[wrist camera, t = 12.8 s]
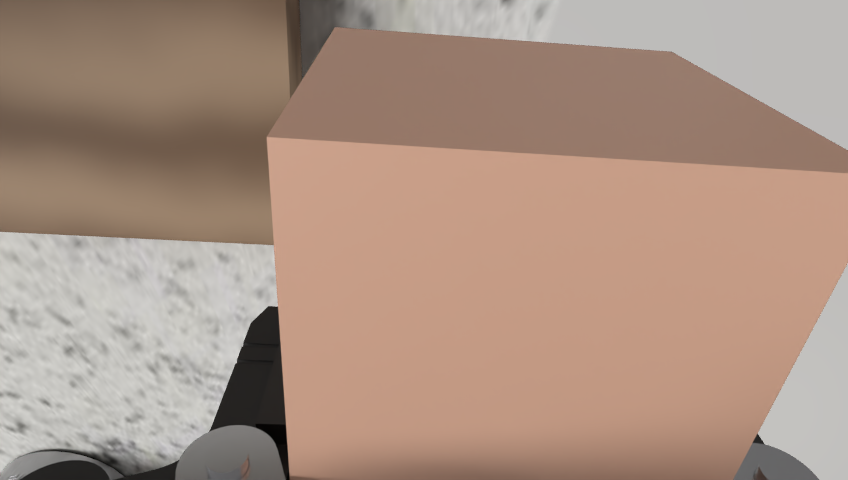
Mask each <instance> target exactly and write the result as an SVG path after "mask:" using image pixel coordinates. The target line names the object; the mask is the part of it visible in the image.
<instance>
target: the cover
mask: <svg viewBox="0 0 848 480" xmlns="http://www.w3.org/2000/svg"><path fill="white" fill-rule="evenodd" d="M267 150H268V165H269V180H270V194H271V209H272V224H273V239H274V253H275V268H276V283H277V298H278V312H279V327H280V342H281V357H282V372H283V386H284V401H285V416H286V431H287V445H288V460H289V475H290V480H733V479H734V477H735V475H736V473H737V471H738V469H739V467H740V466H741V464H742V462H743V460H744V458H745V456H746V454H747V452H748V450H749V449H750V447H751V445H752V443H753V441H754V439H755V437H756V435H757V433H758V431H759V430H760V427H761V426H762V424H763V422H764V420H765V418H766V416H767V415H768V413H769V411H770V409H771V407H772V405H773V403H774V401H775V399H776V397H777V396H778V394H779V392H780V390H781V388H782V386H783V384H784V382H785V380H786V379H787V377H788V375H789V373H790V371H791V369H792V367H793V365H794V363H795V362H796V360H797V358H798V356H799V354H800V352H801V350H802V348H803V347H804V345H805V343H806V341H807V339H808V337H809V335H810V333H811V331H812V330H813V327H814V325H815V324H816V322H817V320H818V318H819V316H820V314H821V312H822V311H823V309H824V307H825V305H826V303H827V301H828V299H829V297H830V296H831V294H832V292H833V290H834V288H835V286H836V284H837V282H838V280H839V279H840V277H841V274H842V273H843V271H844V269H845V267H846V265H847V263H848V150H846V149H844V148H842V147H841V146H839V145H837V144H835V143H833V142H832V141H830V140H828V139H826V138H825V137H823V136H821V135H819V134H817V133H816V132H814V131H812V130H810V129H808V128H807V127H805V126H803V125H801V124H799V123H798V122H796V121H794V120H792V119H791V118H789V117H787V116H785V115H784V114H782V113H780V112H778V111H776V110H775V109H773V108H771V107H769V106H767V105H765V104H764V103H762V102H760V101H759V100H757V99H755V98H753V97H751V96H750V95H748V94H746V93H744V92H742V91H741V90H739V89H737V88H735V87H734V86H732V85H730V84H728V83H726V82H725V81H723V80H721V79H719V78H717V77H716V76H714V75H712V74H710V73H708V72H707V71H705V70H703V69H701V68H700V67H698V66H696V65H694V64H692V63H691V62H689V61H687V60H685V59H684V58H682V57H680V56H678V55H676V54H675V53H673V52H667V51H652V50H639V49H626V48H612V47H599V46H585V45H572V44H571V45H570V44H558V43H544V42H531V41H517V40H503V39H490V38H476V37H462V36H449V35H435V34H422V33H408V32H394V31H381V30H367V29H353V28H340V27H335V28H334V29H333V31H332V33H331V34H330V36H329V37H328V39H327V41H326V42H325V44H324V46H323V47H322V49H321V50H320V52H319V54H318V55H317V57H316V58H315V60H314V62H313V63H312V65H311V66H310V68H309V70H308V71H307V73H306V74H305V76H304V78H303V79H302V81H301V83H300V84H299V86H298V87H297V89H296V91H295V92H294V94H293V95H292V97H291V99H290V100H289V102H288V103H287V105H286V107H285V108H284V110H283V112H282V113H281V115H280V116H279V118H278V120H277V121H276V123H275V124H274V126H273V128H272V129H271V131H270V132H269V134H268V136H267Z"/></svg>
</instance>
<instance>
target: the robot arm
mask: <svg viewBox="0 0 848 480" xmlns="http://www.w3.org/2000/svg"><path fill="white" fill-rule="evenodd" d="M0 480H290V475H289V460H288V445H287V431H286V416H285V401H284V386H283V372H282V357H281V342H280V327H279V312H278V307H272V306H268V307H267V308H266V309H265V310H264V311H263V312H262V313H261V314H260V315H259V316H258V317H257V318H256V319H255V320H254V321H253V322H252V323H251V324H250V327H249V330H248V332H247V335H246V338H245V340H244V345H243V347H242V348H241V351H240V353H239V356H238V359H237V364H235V367H234V369H233V372H232V374H231V377H230V380H229V382H228V385H227V388H226V390H225V393H224V396H223V398H222V401H221V403H220V406H219V409H218V411H217V414H216V417H215V419H214V422H213V425H212V427H211V429H210V431H209V432H208V433H206V434H204V435H202V436H201V437H199V438H198V439H196V440H195V441H194V442H193V443H192V444H190V446H189V447H188V448H187V449H186V450H185V451H184V453H183V454H182V456H181V457H180V459H179V460H178V461H176V462H174V463H172V464H170V465H168V466H165V467H162V468H159V469H156V470H152V471H148V472H144V473H139V474H135V475H131V476H127V477H124V476H123V475H121V474H120V473H119V472H117V471H116V470H115V469H113V468H111V467H110V466H108V465H106V464H104V463H102V462H100V461H97V460H94V459H92V458H89V457H86V456H82V455H78V454H73V453H68V452H57V451H48V452H36V453H31V454H26V455H24V456H22V457H19V458H17V459H15V460H13V461H12V462H11V463H9V464H8V465H7V466H6V467H5V469H4V470H3V471H2V473H1V474H0ZM733 480H819V479H818V478H817V476H816V475H815V474H814V473H813V472H812V471H811V470H810V469H809V468H807V467H806V466H805V465H804V464H803V463H801V462H800V461H799V460H797V459H796V458H794V457H793V456H791V455H789V454H787V453H786V452H783V451H781V450H779V449H777V448H774V447H771V446H768V445H765V444H764V443H763V441H762V440H761V438H760V437H759V435H758V434H757V435H756V437H755V439H754V441H753V443H752V445H751V447H750V449H749V450H748V452H747V454H746V456H745V458H744V460H743V462H742V464H741V466H740V467H739V469H738V471H737V473H736V475H735V477H734V479H733Z"/></svg>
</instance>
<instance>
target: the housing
mask: <svg viewBox="0 0 848 480" xmlns="http://www.w3.org/2000/svg"><path fill="white" fill-rule="evenodd" d="M301 81H302V66H301V38H300V10H299V0H0V232H18V233H38V234H59V235H79V236H100V237H120V238H141V239H161V240H182V241H202V242H223V243H243V244H264V245H274V239H273V224H272V209H271V194H270V180H269V165H268V150H267V136H268V134H269V132H270V131H271V129H272V128H273V126H274V124H275V123H276V121H277V120H278V118H279V116H280V115H281V113H282V112H283V110H284V108H285V107H286V105H287V103H288V102H289V100H290V99H291V97H292V95H293V94H294V92H295V91H296V89H297V87H298V86H299V84H300V83H301Z"/></svg>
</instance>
